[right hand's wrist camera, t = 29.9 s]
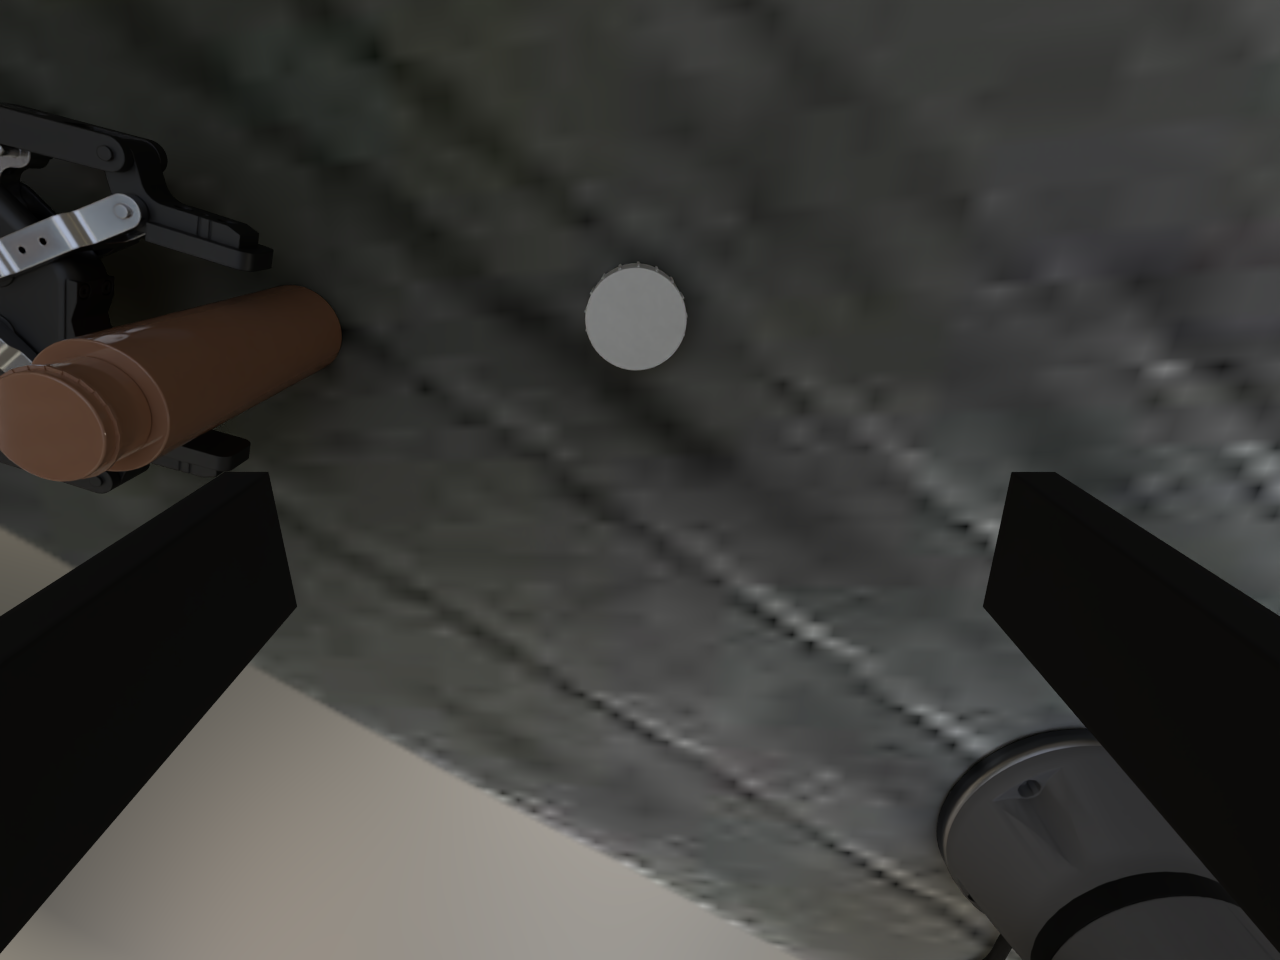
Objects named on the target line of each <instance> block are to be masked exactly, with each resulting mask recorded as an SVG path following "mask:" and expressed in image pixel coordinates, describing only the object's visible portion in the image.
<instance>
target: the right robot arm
mask: <svg viewBox="0 0 1280 960" xmlns="http://www.w3.org/2000/svg"><path fill="white" fill-rule="evenodd" d="M296 607H297V604H296V599H295V595H294V590H293V585H292V581H291V576H290V571H289V566H288V562H287V557H286V552H285V548H284V543H283V538H282V534H281V529H280V524H279V520H278V515H277V510H276V506H275V501H274V496H273V492H272V487H271V482H270V477H269V473H268V472H224V473H223V474H221V475H220V476H218V477H217V478H215V479H213V480H212V481H210V482H209V483H207V484H206V485H204V486H203V487H201V488H199V489H198V490H196V491H195V492H193V493H192V494H190V495H189V496H187V497H185V498H184V499H182V500H181V501H179V502H178V503H176V504H175V505H173V506H171V507H170V508H168V509H167V510H165V511H164V512H162V513H160V514H159V515H157V516H156V517H154V518H153V519H151V520H150V521H148V522H146V523H145V524H143V525H142V526H140V527H139V528H137V529H136V530H134V531H132V532H131V533H129V534H128V535H126V536H125V537H123V538H122V539H120V540H118V541H117V542H115V543H114V544H112V545H111V546H109V547H108V548H106V549H104V550H103V551H101V552H100V553H98V554H97V555H95V556H93V557H92V558H90V559H89V560H87V561H86V562H84V563H83V564H81V565H79V566H78V567H76V568H75V569H73V570H72V571H70V572H69V573H67V574H65V575H64V576H62V577H61V578H59V579H58V580H56V581H55V582H53V583H51V584H50V585H48V586H47V587H45V588H44V589H42V590H41V591H39V592H37V593H36V594H34V595H33V596H31V597H30V598H28V599H27V600H25V601H23V602H22V603H20V604H19V605H17V606H16V607H14V608H13V609H11V610H9V611H8V612H6V613H5V614H3V615H2V616H0V953H1V952H2V951H3V950H4V948H5V947H6V946H7V945H8V944H9V943H10V942H11V940H12V939H13V938H14V937H15V936H16V935H17V933H18V932H19V931H20V930H21V929H22V928H23V926H24V925H25V924H26V923H27V922H28V921H29V919H30V918H31V917H32V916H33V915H34V913H35V912H36V911H37V910H38V909H39V908H40V906H41V905H42V904H43V903H44V902H45V901H46V899H47V898H48V897H49V896H50V895H51V894H52V892H53V891H54V890H55V889H56V888H57V887H58V885H59V884H60V883H61V882H62V881H63V880H64V878H65V877H66V876H67V875H68V874H69V872H70V871H71V870H72V869H73V868H74V867H75V866H76V864H77V863H78V862H79V861H80V860H81V858H82V857H83V856H84V855H85V854H86V853H87V851H88V850H89V849H90V848H91V847H92V846H93V844H94V843H95V842H96V841H97V840H98V839H99V837H100V836H101V835H102V834H103V833H104V832H105V830H106V829H107V828H108V827H109V826H110V825H111V823H112V822H113V821H114V820H115V819H116V818H117V816H118V815H119V814H120V813H121V812H122V811H123V809H124V808H125V807H126V806H127V805H128V804H129V802H130V801H131V800H132V799H133V798H134V797H135V795H136V794H137V793H138V792H139V791H140V789H141V788H142V787H143V786H144V785H145V784H146V783H147V781H148V780H149V779H150V778H151V777H152V776H153V774H154V773H155V772H156V771H157V770H158V769H159V767H160V766H161V765H162V764H163V763H164V762H165V760H166V759H167V758H168V757H169V756H170V755H171V753H172V752H173V751H174V750H175V749H176V748H177V746H178V745H179V744H180V743H181V742H182V740H183V739H184V738H185V737H186V736H187V735H188V733H189V732H190V731H191V730H192V729H193V728H194V726H195V725H196V724H197V723H198V722H199V721H200V719H201V718H202V717H203V716H204V715H205V714H206V712H207V711H208V710H209V709H210V708H211V707H212V705H213V704H214V703H215V702H216V701H217V700H218V698H219V697H220V696H221V695H222V694H223V693H224V691H225V690H226V689H227V688H228V687H229V686H230V684H231V683H232V682H233V681H234V680H235V679H236V677H237V676H238V675H239V674H240V673H241V672H242V670H243V669H244V668H245V667H246V666H247V665H248V663H249V662H250V661H251V660H252V659H253V658H254V656H255V655H256V654H257V653H258V652H259V650H260V649H261V648H262V647H263V646H264V645H265V643H266V642H267V641H268V640H269V639H270V638H271V636H272V635H273V634H274V633H275V632H276V631H277V629H278V628H279V627H280V626H281V625H282V624H283V622H284V621H285V620H286V619H287V618H288V617H289V615H290V614H291V613H292V612H293V611H294V610H295V608H296ZM983 607H984V608H985V610H986V611H987V612H988V613H989V614H990V615H991V617H992V618H993V619H994V620H995V621H996V622H997V624H998V625H999V626H1000V627H1001V628H1002V629H1003V631H1004V632H1005V633H1006V634H1007V635H1008V636H1009V638H1010V639H1011V640H1012V641H1013V642H1014V643H1015V645H1016V646H1017V647H1018V648H1019V649H1020V650H1021V652H1022V653H1023V654H1024V655H1025V656H1026V658H1027V659H1028V660H1029V661H1030V662H1031V663H1032V665H1033V666H1034V667H1035V668H1036V669H1037V670H1038V672H1039V673H1040V674H1041V675H1042V676H1043V677H1044V679H1045V680H1046V681H1047V682H1048V683H1049V684H1050V686H1051V687H1052V688H1053V689H1054V690H1055V691H1056V693H1057V694H1058V695H1059V696H1060V697H1061V698H1062V700H1063V701H1064V702H1065V703H1066V704H1067V705H1068V707H1069V708H1070V709H1071V710H1072V711H1073V712H1074V714H1075V715H1076V716H1077V717H1078V718H1079V719H1080V721H1081V722H1082V723H1083V724H1084V725H1085V726H1086V728H1087V729H1070V730H1059V731H1053V732H1047V733H1043V734H1038V735H1035V736H1031V737H1028V738H1025V739H1022V740H1020V741H1017V742H1014V743H1012V744H1010V745H1008V746H1006V747H1003V748H1001V749H1000V750H998V751H996V752H994V753H992V754H991V755H989V756H988V757H986V758H985V759H983V760H982V761H980V762H979V763H978V764H976V765H975V766H974V767H973V768H972V769H970V770H969V771H968V772H967V773H966V774H965V775H964V776H963V777H962V778H961V779H960V780H959V781H958V782H957V784H956V785H955V786H954V788H953V789H952V790H951V792H950V793H949V795H948V797H947V798H946V800H945V802H944V804H943V806H942V809H941V812H940V815H939V819H938V823H937V841H938V846H939V849H940V852H941V855H942V857H943V859H944V861H945V864H946V866H947V868H948V870H949V872H950V874H951V876H952V878H953V880H954V881H955V882H956V884H957V885H958V887H959V888H960V890H961V891H962V893H963V894H964V895H965V897H966V898H967V899H968V900H969V901H970V902H971V903H972V904H973V905H974V906H975V907H976V908H977V909H979V910H980V911H981V912H983V913H984V914H985V915H986V916H987V917H988V919H989V920H990V921H991V922H992V924H993V925H994V926H995V927H996V928H997V930H998V931H999V932H1000V933H1001V934H1000V935H999V937H998V939H997V940H996V942H995V944H994V946H993V948H992V950H991V951H990V953H989V954H988V955H987V956H986V957H985V958H984V959H983V960H1005V959H1006V957H1007V955H1008V954H1009V952H1010V950H1011V949H1012V948H1013V949H1014V950H1015V951H1016V953H1017V954H1018V955H1019V956H1020V957H1021V958H1022V959H1023V960H1280V616H1278V615H1277V614H1275V613H1274V612H1272V611H1271V610H1269V609H1268V608H1266V607H1264V606H1263V605H1261V604H1260V603H1258V602H1257V601H1255V600H1254V599H1252V598H1250V597H1249V596H1247V595H1246V594H1244V593H1243V592H1241V591H1239V590H1238V589H1236V588H1235V587H1233V586H1232V585H1230V584H1229V583H1227V582H1225V581H1224V580H1222V579H1221V578H1219V577H1218V576H1216V575H1215V574H1213V573H1211V572H1210V571H1208V570H1207V569H1205V568H1204V567H1202V566H1201V565H1199V564H1197V563H1196V562H1194V561H1193V560H1191V559H1190V558H1188V557H1187V556H1185V555H1183V554H1182V553H1180V552H1179V551H1177V550H1176V549H1174V548H1172V547H1171V546H1169V545H1168V544H1166V543H1165V542H1163V541H1162V540H1160V539H1158V538H1157V537H1155V536H1154V535H1152V534H1151V533H1149V532H1148V531H1146V530H1144V529H1143V528H1141V527H1140V526H1138V525H1137V524H1135V523H1134V522H1132V521H1130V520H1129V519H1127V518H1126V517H1124V516H1123V515H1121V514H1120V513H1118V512H1116V511H1115V510H1113V509H1112V508H1110V507H1109V506H1107V505H1105V504H1104V503H1102V502H1101V501H1099V500H1098V499H1096V498H1095V497H1093V496H1091V495H1090V494H1088V493H1087V492H1085V491H1084V490H1082V489H1081V488H1079V487H1077V486H1076V485H1074V484H1073V483H1071V482H1070V481H1068V480H1067V479H1065V478H1063V477H1062V476H1060V475H1059V474H1057V473H1056V472H1012V473H1011V477H1010V482H1009V487H1008V492H1007V496H1006V501H1005V506H1004V510H1003V515H1002V520H1001V524H1000V529H999V534H998V538H997V543H996V548H995V552H994V557H993V562H992V566H991V571H990V576H989V581H988V585H987V590H986V595H985V599H984V604H983Z"/></svg>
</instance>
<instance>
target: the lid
mask: <svg viewBox="0 0 1280 960" xmlns="http://www.w3.org/2000/svg"><path fill="white" fill-rule="evenodd" d="M590 294H591V296H590V298H589V301H588V304H587V306H586V308H585V313H586V315H585V323H586V332H587V334H588V337H589V339H590V341H591V343H592V345H593V347H594V349H595V350H596V351H597V352H598V353H599V355H600V356H602V357H603V358H604V359H605V360H606V361H608V362H609V363H611V364H613V365H615V366H617V367H620V368H623V369H627V370H645V369H649V368H653V367H655V366H657V365H660V364H661V363H663V362H664V361H666V360H667V359H668V358H670V357H671V356H672V355H673V354H674V352H675V351H676V350H677V348H678V347H679V345H680V344H681V342H682V339H683V337H684V336H685V330H686V323H687V318H688V315H687V313H686V308H685V304H684V301H683V299H684V296H683V294H682V292H679V290H678V288H677V286H676V285H675V283H674V280H673V278H672V277H669V276H668V275H667V274H665V273H664V272H663V271H661V270H659V269H658V267H657V266H655V267H653V266H651V265H647V264H641V263H640V262H637V263H630V264H625V265H621V264H619V267H616V268H614V269H612V270H611V271H609V272H608V273H607V274H605V273H604V274H603V276H602V278H601V279H600V281H599V282H598V283H597V285H596V286H595V288H592V290H591V292H590Z"/></svg>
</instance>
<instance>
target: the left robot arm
mask: <svg viewBox="0 0 1280 960" xmlns="http://www.w3.org/2000/svg"><path fill="white" fill-rule="evenodd" d="M53 158H57V159H61V160H65V161H69V162H72V163H76V164H80V165H84V166H88V167H92V168H96V169H99V170H103V171H105V174H106V178H107V181H108V184H109V187H110V191H111V194H112V195H111V196H108V197H106V198H104V199H101V200H99V201H96V202H94V203H92V204H89V205H87V206H85V207H82V208H80V209H78V210H75V211H71V212H66V213H61V214H56V213H55V212H54V211H53V210H52V209H51V208H50V207H49V206H48V205H47V204H46V203H45V202H44V201H43V200H42V199H41V198H40V197H39V196H38V195H37V194H36V193H35V192H34V191H33V190H32V189H31V188H30V187H28V186H27V185H25V184H23V183H21V182H20V176H21V174H22V172H23V171H24V170H26V169H29V168H31V169H41V168H44V167H45V166H46V165H47V164H48V162H49V159H53ZM166 167H167V156H166V153H165V151H164V149H163V148H162V147H161V146H160V145H159V144H158V143H156V142H154V141H152V140H148V139H145V138H141V137H137V136H133V135H130V134H126V133H122V132H118V131H115V130H111V129H107V128H103V127H99V126H96V125H92V124H88V123H84V122H81V121H77V120H73V119H69V118H66V117H62V116H58V115H54V114H51V113H47V112H43V111H39V110H35V109H32V108H28V107H24V106H20V105H16V104H9V103H2V102H0V376H1V375H2V374H4V373H6V372H7V371H9V370H10V369H13V368H17V367H22V366H26V365H30V364H32V362H33V360H34V359H35V357H36V356H37V355H38V354H39V353H40V352H41V351H42V350H44V349H45V348H46V347H48V346H49V345H51V344H53V343H56V342H59V341H62V340H65V339H69V338H73V337H77V336H81V335H85V334H89V333H93V332H97V331H101V330H105V329H109V328H111V324H110V319H109V315H108V310H109V307H110V304H111V302H112V299H113V296H114V277H113V276H110V275H107V273H106V270H105V267H104V265H103V263H102V262H101V260H100V258H103V257H105V256H107V255H110V254H112V253H115V252H117V251H120V250H122V249H125V248H127V247H129V246H132V245H134V244H136V243H138V242H139V240H140V239H142V238H145V241H147V242H150V243H154V244H157V245H160V246H163V247H167V248H170V249H173V250H176V251H179V252H183V253H186V254H189V255H192V256H195V257H199V258H202V259H205V260H208V261H212V262H215V263H218V264H221V265H224V266H228V267H231V268H234V269H238V270H242V271H249V272H254V271H259V270H264V269H269V268H271V266H272V257H273V249H271V248H269V247H266V246H263V245H260V244H258V238H259V233H258V232H257V231H255V230H254V229H252V228H251V227H250V226H248V225H247V224H245V223H242V222H239V221H235V220H232V219H229V218H226V217H223V216H219V215H217V214H214V213H210V212H207V211H204V210H201V209H198V208H195V207H192V206H188V205H185V204H183V203H181V202H179V201H178V200H176V199H175V198H174V197H173V196H172V195H171V194H170V192H169V190H168V188H167V186H166V183H165V179H164V176H163V171H164V170H165V169H166ZM249 451H250V442H249V441H248V440H246V439H243V438H240V437H236V436H233V435H229V434H226V433H222V432H218V431H215V430H210V431H208V432H206V433H204V434H203V435H201V436H199V437H197V438H195V439H193V440H192V441H190V442H188V443H186V444H184V445H182V446H181V447H179V448H177V449H175V450H173V451H171V452H170V453H168V454H166V455H164V456H162V457H160V458H159V459H157V460H155V461H153V462H151V463H153V464H157V465H160V466H164V467H167V468H171V469H175V470H181V471H182V472H186V473H191V474H193V475H197V476H200V477H216V476H218V475H219V474H221V473H222V472H224V471H230V470H232V469H234V468H235V467H237V466H238V465H240V464H241V463H243V462H244V461H246V460H247V459H248V458H249ZM0 462H1V463H5V464H8V465H11V466H14V467H17V468H20V469H22V468H21V467H19V466H18V465H16V464H15V463H14V462H12V461H11V460H9V459H8V458H7V457H6V456H5V455H4V454H3V453H2V452H1V451H0ZM149 465H150V464H148V465H146V466H143V467H141V468H138V469H135V470H130V471H105V472H103V473H102V474H100V475H98V476H95V477H90V478H86V479H79V480H75V481H61V482H64V483H68V484H71V485H74V486H77V487H80V488H83V489H86V490H90V491H93V492H96V493H101V494H102V493H107V492H109V491H111V490H112V489H114V488H116V487H118V486H119V485H121V484H123V483H125V482H127V481H128V480H130V479H132V478H134V477H135V476H137V475H139V474H141V473H143V472H145V471H146V470H147V469H148V468H149ZM23 470H24V469H23Z"/></svg>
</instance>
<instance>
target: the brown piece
mask: <svg viewBox="0 0 1280 960" xmlns="http://www.w3.org/2000/svg"><path fill="white" fill-rule="evenodd" d="M341 340H342V333H341V327H340V323H339V320H338V318H337V316H336V314H335V312H334V310H333V309H332V307H331V306H330V305H329V304H328V303H327V302H326V301H325V300H324V299H323V298H322V297H321V296H320V295H318V294H317V293H315V292H313V291H311V290H310V289H307V288H304V287H301V286H296V285H283V286H278V287H274V288H270V289H266V290H262V291H258V292H254V293H250V294H246V295H242V296H238V297H234V298H230V299H226V300H222V301H218V302H214V303H210V304H206V305H202V306H198V307H194V308H190V309H186V310H182V311H178V312H174V313H170V314H166V315H162V316H158V317H154V318H150V319H146V320H142V321H138V322H134V323H130V324H126V325H122V326H118V327H114V328H109V329H105V330H101V331H97V332H93V333H89V334H85V335H81V336H77V337H73V338H69V339H65V340H62V341H59V342H56V343H53V344H51V345H49V346H48V347H46V348H45V349H44V350H42V351H41V352H40V353H39V354H38V355H37V356H36V357H35V359H34V360H33V362H32V364H30V365H26V366H22V367H17V368H13V369H10V370H9V371H7V372H6V373H4V374H2V375H1V376H0V451H1V452H2V453H3V454H4V455H5V456H6V457H7V458H8V459H9V460H11V461H12V462H14V463H15V464H16V465H18V466H19V467H21V468H22V469H24V470H25V471H27V472H29V473H31V474H33V475H36V476H38V477H41V478H44V479H48V480H53V481H75V480H79V479H86V478H90V477H95V476H98V475H100V474H102V473H103V472H105V471H130V470H135V469H138V468H141V467H143V466H146V465H148V464H150V463H151V462H153V461H155V460H157V459H159V458H160V457H162V456H164V455H166V454H168V453H170V452H171V451H173V450H175V449H177V448H179V447H181V446H182V445H184V444H186V443H188V442H190V441H192V440H193V439H195V438H197V437H199V436H201V435H203V434H204V433H206V432H208V431H210V430H212V429H213V428H215V427H217V426H219V425H221V424H223V423H224V422H226V421H228V420H230V419H232V418H234V417H235V416H237V415H239V414H241V413H243V412H245V411H246V410H248V409H250V408H252V407H254V406H255V405H257V404H259V403H261V402H263V401H265V400H266V399H268V398H270V397H272V396H274V395H276V394H277V393H279V392H281V391H283V390H285V389H287V388H288V387H290V386H292V385H294V384H296V383H297V382H299V381H301V380H303V379H305V378H307V377H308V376H310V375H312V374H314V373H316V372H318V371H319V370H321V369H323V368H325V367H326V366H328V365H329V364H330V363H331V362H332V361H333V360H334V359H335V358H336V356H337V354H338V352H339V350H340V346H341Z"/></svg>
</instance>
